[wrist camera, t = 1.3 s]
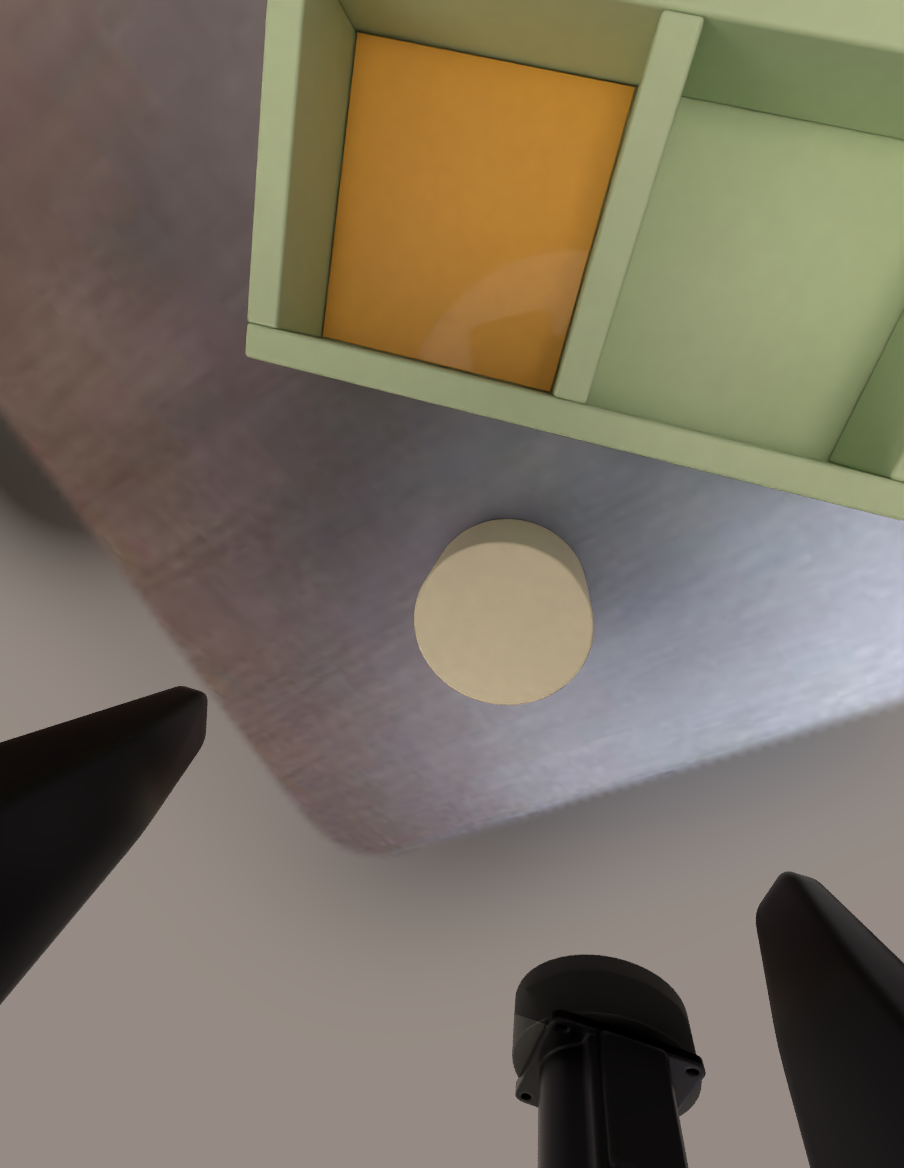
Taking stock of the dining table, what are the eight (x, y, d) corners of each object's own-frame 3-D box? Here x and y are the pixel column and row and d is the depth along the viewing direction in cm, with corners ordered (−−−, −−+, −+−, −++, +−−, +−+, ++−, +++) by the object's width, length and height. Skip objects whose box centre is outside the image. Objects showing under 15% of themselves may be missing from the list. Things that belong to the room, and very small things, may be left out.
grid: (830, 493, 13) (906, 522, 10) (302, 362, 14) (243, 356, 11) (1304, -427, 8) (1731, -884, 5) (394, -530, 9) (324, -955, 6)
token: (560, 679, 16) (562, 726, 14) (418, 639, 17) (398, 678, 14) (609, 542, 14) (621, 570, 12) (450, 500, 15) (433, 520, 13)
